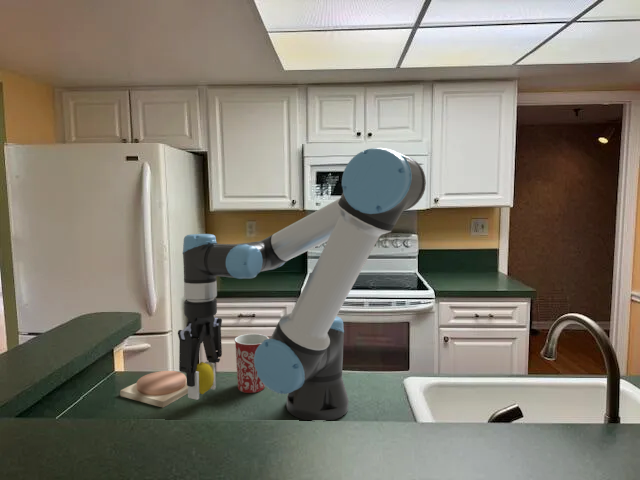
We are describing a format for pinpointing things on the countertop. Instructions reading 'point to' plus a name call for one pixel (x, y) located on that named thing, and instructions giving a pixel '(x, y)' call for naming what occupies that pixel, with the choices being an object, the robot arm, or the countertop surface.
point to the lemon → (205, 377)
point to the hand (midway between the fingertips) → (202, 392)
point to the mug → (248, 362)
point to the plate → (158, 388)
